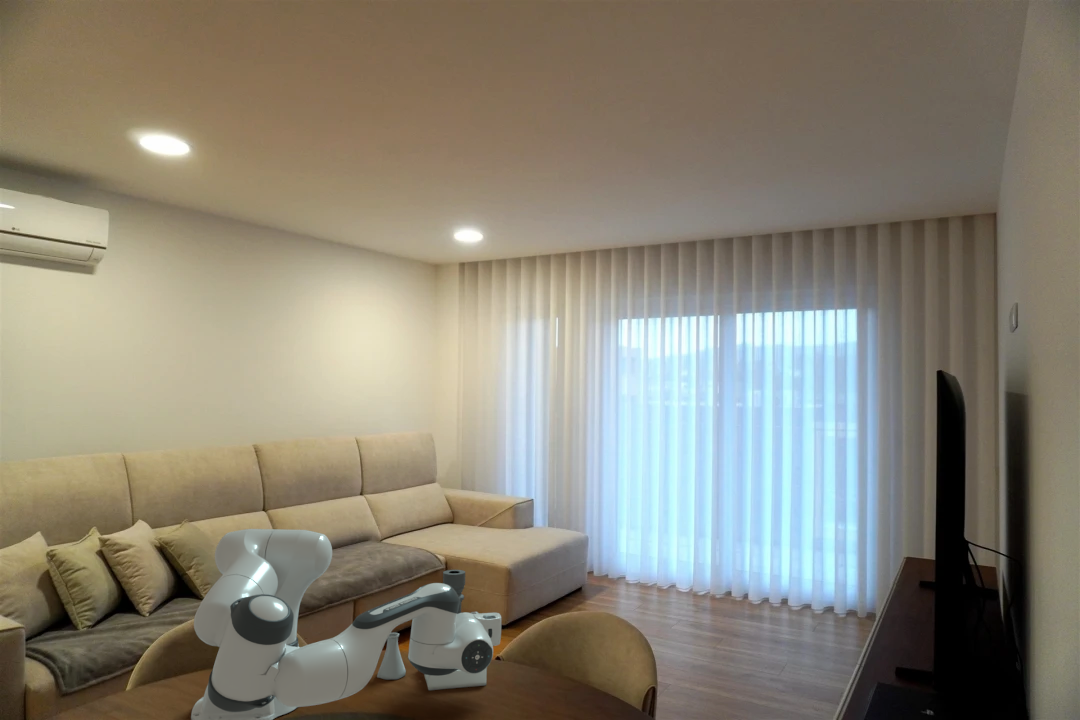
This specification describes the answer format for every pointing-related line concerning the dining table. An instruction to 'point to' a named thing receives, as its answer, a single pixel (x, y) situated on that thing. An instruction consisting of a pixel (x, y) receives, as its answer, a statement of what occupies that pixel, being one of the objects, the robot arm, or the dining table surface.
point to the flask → (392, 660)
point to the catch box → (456, 680)
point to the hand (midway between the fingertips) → (455, 616)
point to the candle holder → (455, 582)
